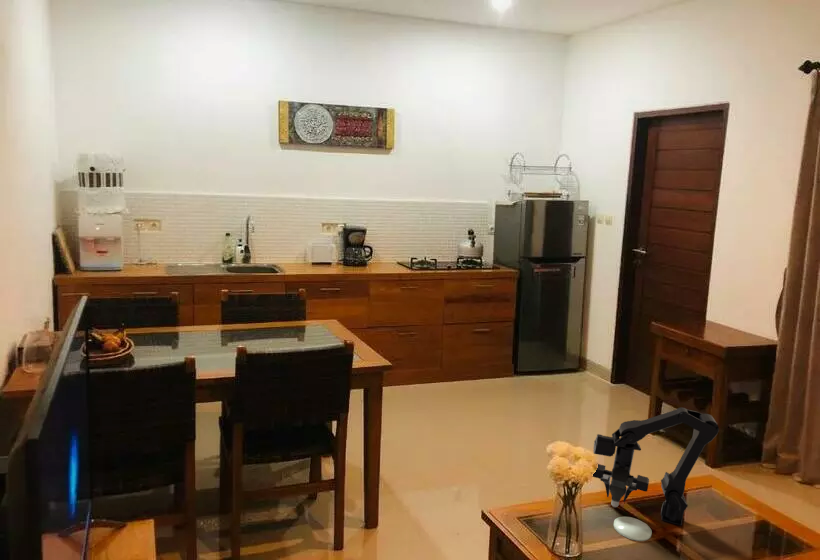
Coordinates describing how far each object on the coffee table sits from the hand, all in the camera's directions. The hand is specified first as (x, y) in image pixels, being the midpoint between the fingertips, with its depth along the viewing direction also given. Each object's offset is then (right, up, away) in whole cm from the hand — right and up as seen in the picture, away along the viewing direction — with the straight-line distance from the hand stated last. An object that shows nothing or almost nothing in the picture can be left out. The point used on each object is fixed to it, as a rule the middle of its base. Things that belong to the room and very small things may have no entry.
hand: (615, 499), depth 231 cm
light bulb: (0, -3, +1) cm, 3 cm away
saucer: (+2, -6, -12) cm, 13 cm away
